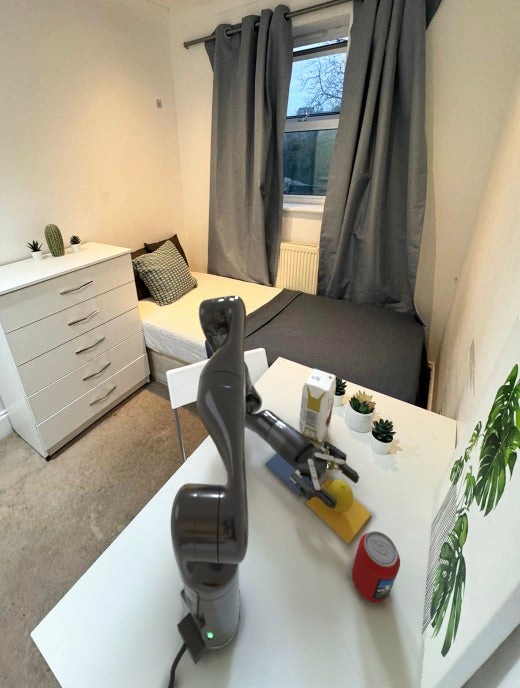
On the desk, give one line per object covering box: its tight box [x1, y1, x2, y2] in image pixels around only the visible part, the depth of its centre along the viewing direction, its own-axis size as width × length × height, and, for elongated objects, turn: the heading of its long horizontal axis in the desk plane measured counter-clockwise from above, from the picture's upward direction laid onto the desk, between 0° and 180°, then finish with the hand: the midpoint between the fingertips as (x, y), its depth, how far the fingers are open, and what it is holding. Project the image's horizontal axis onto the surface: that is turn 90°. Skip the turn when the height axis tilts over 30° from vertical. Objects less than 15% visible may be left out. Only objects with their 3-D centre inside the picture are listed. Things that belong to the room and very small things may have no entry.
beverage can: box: [351, 530, 401, 604], centre depth 60 cm, size 7×7×12 cm
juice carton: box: [298, 368, 337, 443], centre depth 91 cm, size 8×9×19 cm
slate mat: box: [265, 453, 311, 497], centre depth 84 cm, size 9×11×1 cm
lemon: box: [327, 479, 354, 512], centre depth 73 cm, size 6×6×8 cm
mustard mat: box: [305, 477, 372, 545], centre depth 75 cm, size 9×11×1 cm
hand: (347, 492), depth 71 cm, fingers open, 8 cm apart
